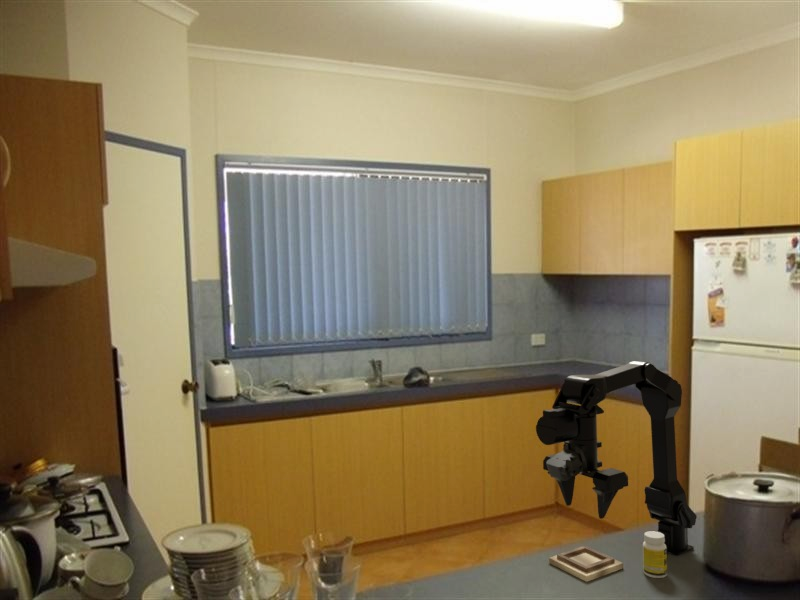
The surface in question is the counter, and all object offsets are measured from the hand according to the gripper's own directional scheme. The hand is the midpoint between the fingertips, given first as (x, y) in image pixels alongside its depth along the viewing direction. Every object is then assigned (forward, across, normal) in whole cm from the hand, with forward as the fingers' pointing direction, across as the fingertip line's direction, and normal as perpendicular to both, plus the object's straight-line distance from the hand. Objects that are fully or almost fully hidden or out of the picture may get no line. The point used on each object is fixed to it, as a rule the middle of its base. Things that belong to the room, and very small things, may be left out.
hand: (584, 511), depth 136 cm
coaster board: (+15, -5, +5) cm, 16 cm away
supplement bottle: (+15, +6, +14) cm, 21 cm away
